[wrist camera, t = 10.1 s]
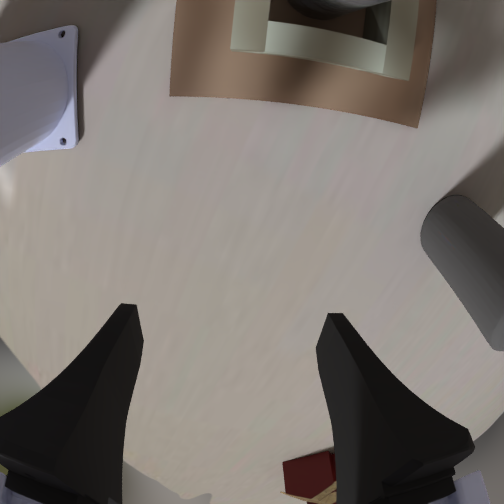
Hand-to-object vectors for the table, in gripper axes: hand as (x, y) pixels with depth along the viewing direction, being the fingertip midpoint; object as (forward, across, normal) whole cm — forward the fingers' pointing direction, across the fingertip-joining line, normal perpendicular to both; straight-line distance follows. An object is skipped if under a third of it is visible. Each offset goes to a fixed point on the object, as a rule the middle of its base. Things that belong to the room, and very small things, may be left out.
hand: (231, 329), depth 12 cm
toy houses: (+11, -29, +62) cm, 69 cm away
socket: (+10, -4, -14) cm, 18 cm away
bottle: (+11, -17, 0) cm, 20 cm away
